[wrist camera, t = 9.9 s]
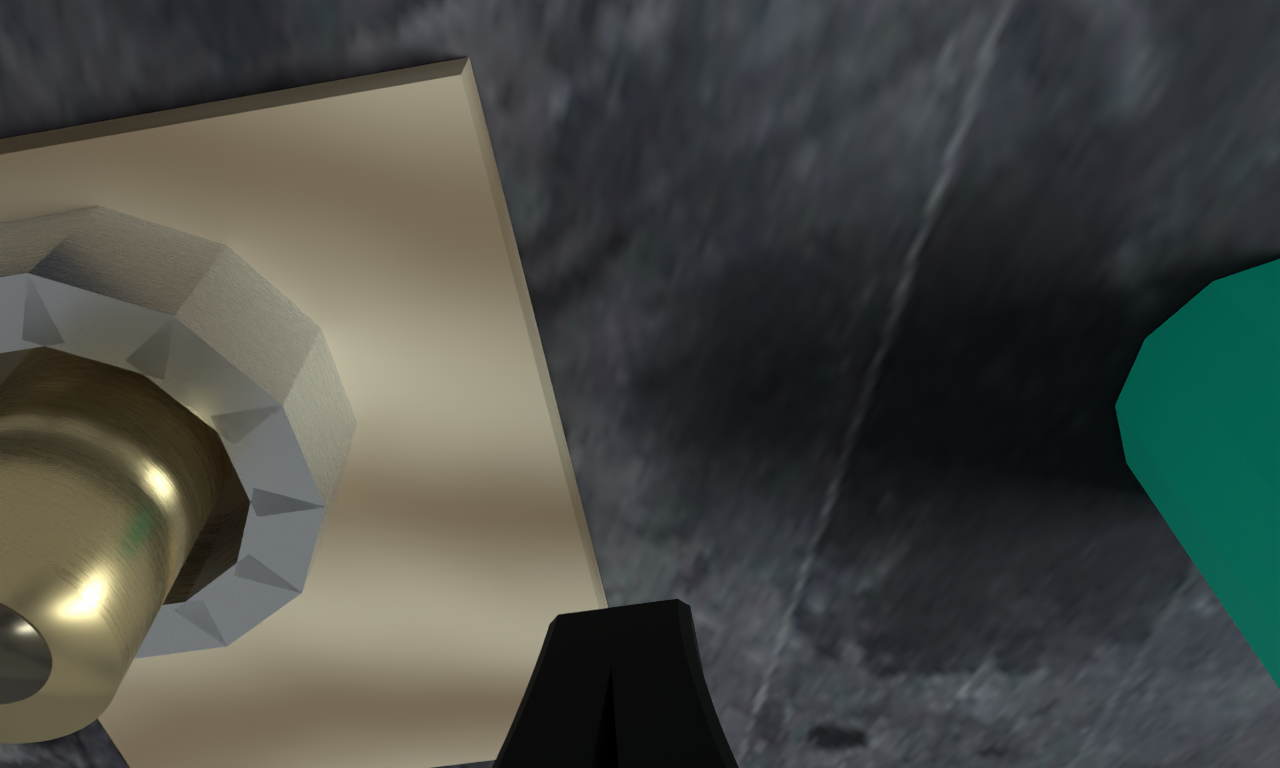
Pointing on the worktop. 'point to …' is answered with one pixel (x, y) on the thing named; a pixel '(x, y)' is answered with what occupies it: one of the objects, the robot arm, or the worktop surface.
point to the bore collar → (197, 393)
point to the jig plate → (361, 419)
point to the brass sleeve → (89, 530)
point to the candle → (1217, 442)
